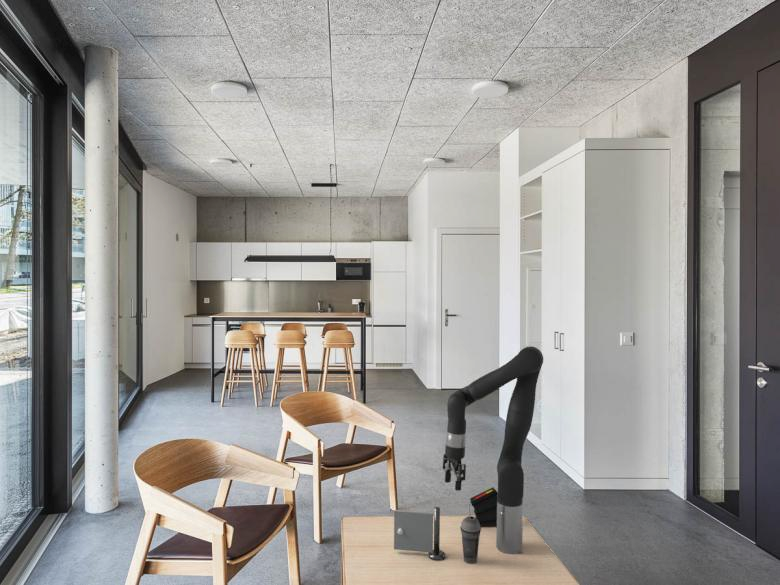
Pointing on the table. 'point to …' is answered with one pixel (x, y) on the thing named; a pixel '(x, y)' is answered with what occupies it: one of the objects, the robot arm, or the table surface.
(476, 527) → the beverage cup
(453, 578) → the table surface
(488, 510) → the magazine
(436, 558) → the hinge post
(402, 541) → the door
